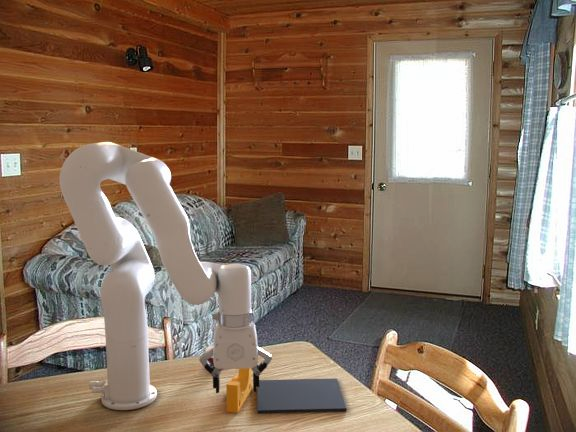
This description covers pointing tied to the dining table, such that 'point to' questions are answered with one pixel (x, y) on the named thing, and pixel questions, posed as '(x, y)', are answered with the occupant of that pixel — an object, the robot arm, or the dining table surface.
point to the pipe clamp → (238, 390)
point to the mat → (299, 396)
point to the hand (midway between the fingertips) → (236, 389)
